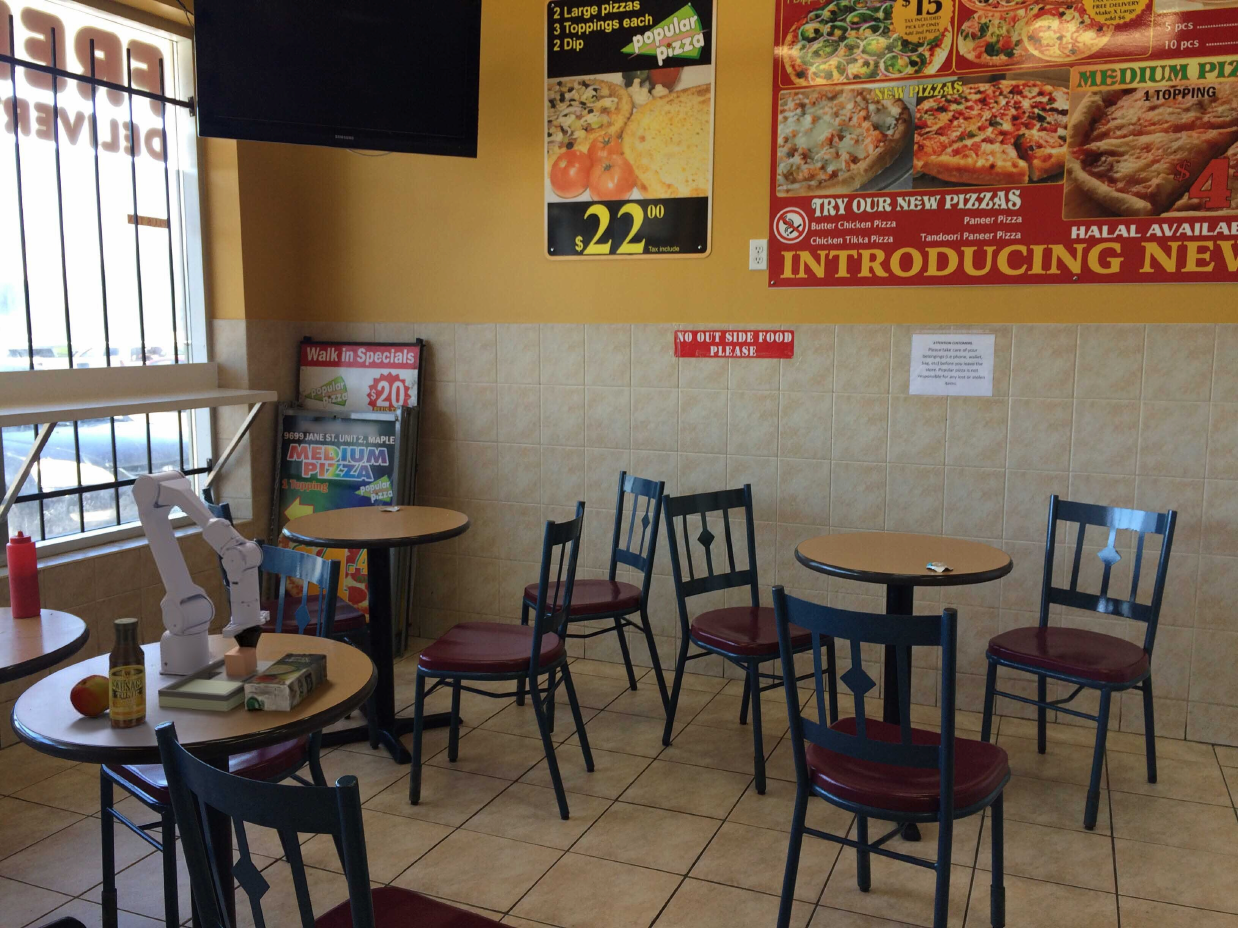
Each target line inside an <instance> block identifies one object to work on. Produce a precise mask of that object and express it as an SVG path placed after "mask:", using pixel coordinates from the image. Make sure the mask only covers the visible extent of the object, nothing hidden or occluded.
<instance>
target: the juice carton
mask: <svg viewBox="0 0 1238 928" xmlns="http://www.w3.org/2000/svg"><path fill="white" fill-rule="evenodd" d="M274 662H275V663H273V664H272V665H271V666H269V667H268V668H267V669H266V670H264V671H263V672H262V673H260V674H259V675H257V676H256V677H254V678H253V679H251V680H250V681H249V682H247V683H246V684H245V685H244V688H245V701H244V705H245V706H244V707H245V710H247V711H248V710H252V709H253V710H255V709H259V710H260V711H261V710H263V711H265V712H266V711H270V712H271V711H276V712H277V711H279V712H290V711H291V710H292V709H294V708H295V707H296V706H297V705H299V704H300V703H301V702H302V701H303V700H305V698H307V697H308V696H309V695H310V694H311V693H313V692H314V691H315V690H316V689H318V688H319V687H320V686H322V684H324V683H325V682H326V681H327V680H328V666H327V663H328V661H327V655H326V654H323V653H291V652H289V653H286V654H284V655H283V656H282V657H281V658H280V659H278V660H276V661H274ZM324 681H325V682H324ZM319 685H320V686H319Z"/></svg>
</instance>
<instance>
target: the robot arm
mask: <svg viewBox="0 0 1238 928" xmlns="http://www.w3.org/2000/svg"><path fill="white" fill-rule="evenodd" d="M131 493H132V496H133V499H134V501H135V503H136V507H137V512H138V513H137V514H138V518H139V521H140V523H141V524H140V525H141V526H142V530H143V532H144V535H145V537H146V540H147V542H148V546H149V547H150V551H151V553H152V555H153V556H152V557H153V559H154V561H155V565H156V567H157V569H158V572H159V574H160V578H161V580H162V583H163V585H164V589H165V591H166V594H165V595H164V597H163V599H162V600H161V602H160V604H159V606H160V607H161V611H162V622H163V625H164V627H165V629H167V630H165V631H164V632H163V634H162V635H161V638H160V642H159V652H160V655H159V656H160V669H161V670H160V669H159V671H158V673H159V674H166V675H180V676H187V675H189V674H191V673H193V672H195V671H197V670H199V669H201V668H203V667H205V666H207V665H209V664H211V663H213V662H214V661H210V646H209V630H208V628H210V626H211V623H210V622H211V621H213V620H214V618H215V613H216V610H215V609H216V608H215V605H214V603H213V601H212V600H211V598H209V596H208V595H207V593H206V590H205V589H204V588H202V587H201V586H200V585H197V584H195V583H194V582H193V579H192V578H191V575H190V572H189V569H188V567H187V564H186V561H185V558H184V556H183V553H182V551H181V547H180V544H179V541H178V540H177V537H176V534H175V532H174V529H173V526H172V523H171V521H170V518H169V516H170V515H171V514H170V513H171V511H172V510H173V509H174V508H176V507H178V509H180V510H181V511H182V512H183V513H185V515H186V516H188V517H189V518H190V519H191V520H192V521H193V522H194V523H196V524H197V525H198V526H199V527H200V528H201V529H202V533H201V534H202V535H201V536H202V538H203V539H204V540H205V541H206V542H207V543H208V544H209V546H211V547H212V548H213V550H214V551H216V552H217V553H218V555H220V557H221V558H222V559H221V564H222V566H223V568H224V570H225V572H226V575H227V576H226V577H227V579H228V581H229V593H230V609H231V621H230V622H229V623H228V624H227V625H226V627H224V628H223V629H221V630H222V631H221V632H222V638H223V639H234V640H235V641H236V643H237V646H238V647H252V648H256V649H257V647H258V644H259V640H260V638H261V636H262V633H263V632H264V630H263V629H264V628H263V626H262V625H264V624H265V623H266V622H268V621H269V620H270V610H268V611H267V610H261V604H260V603H261V602H260V585H259V584H260V583H259V570H258V569H259V568H258V567H260V566H261V564H262V562H263V560H264V555H263V554H264V553H263V550H262V547H260V545H259V544H258V542H255V541H254V540H253V541H252V540H248V539H247V538H245V537H244V536H242V535H241V534H240V533H239V532H238V531H237V529H235V528H234V527H233V526H232V523H231V522H230V521H229V519H225V518H222V517H219V518H218V517H215V515H214V514H213V513H212V512H211V510H210V509H209V508H208V507H207V505H206V504H205V503H204V502H203V501H202V499H201V498H200V497H199V496H198V494H196V492H195V491H194V490H193V489H192V481H191V480H190V479H189V478H187V476H186V474H184V472H182V471H180V470H179V469H171V470H168V471H163V472H156V473H149V474H147V473H146V474H145V473H144V474H141V475H139V476H138V477H136V479H135V482H134V483H133V485H132V489H131ZM184 600H185V601H184ZM261 626H262V627H261Z"/></svg>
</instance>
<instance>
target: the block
mask: <svg viewBox="0 0 1238 928" xmlns="http://www.w3.org/2000/svg"><path fill="white" fill-rule="evenodd" d="M223 657H224V658H225V668H226V675H238V676H246V675H248V674H249V673H250V672H252V671H253V670H255V669H256V668H258V667H257V661H258V658H257V648H252V647H239V646H235V647H233V648H232V649H230V650H229V651H226V653H224V654H223Z"/></svg>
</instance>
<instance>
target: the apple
mask: <svg viewBox="0 0 1238 928" xmlns="http://www.w3.org/2000/svg"><path fill="white" fill-rule="evenodd" d="M69 701H70V704H71V705H72V707H73V709H74V710H75V711H76V712H77V713H79V714H80V715H81V716H85V717H87V718H96V717H98V716H100V715H101V714H103V713H104V712H107V711H108V710H109V677H107V676H104V675H101V674H92V675H89V676H86V677H85V678H83V679H81V680H79V681H78V682H77V683H76V684H75V685H74V686H73V687H72V688H71V691H70V695H69Z"/></svg>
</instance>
